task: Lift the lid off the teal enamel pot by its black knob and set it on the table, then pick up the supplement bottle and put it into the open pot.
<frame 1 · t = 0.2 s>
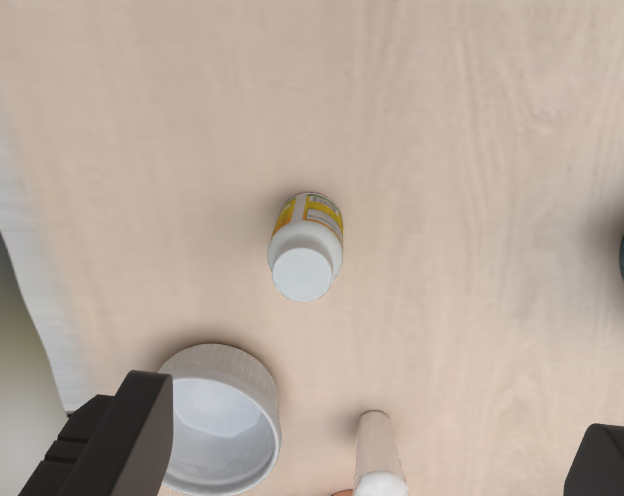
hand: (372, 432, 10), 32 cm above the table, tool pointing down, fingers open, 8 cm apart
supplement bottle: (310, 221, 43), on the table
ramekin: (219, 386, 50), on the table
milkshake: (371, 419, 51), on the table
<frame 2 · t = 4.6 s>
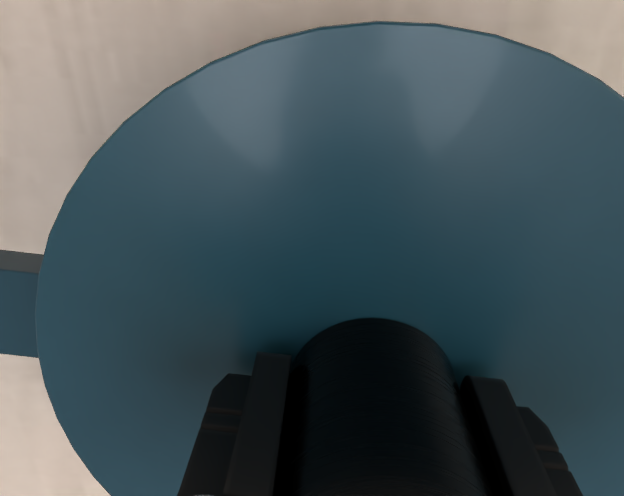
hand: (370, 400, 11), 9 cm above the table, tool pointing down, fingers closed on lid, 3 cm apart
lid: (369, 373, 12), point 8 cm above the table, touching gripper, pot
pot: (357, 231, 20), on the table
when the fingers open (2 cm above the table, at t = 13.4 s): lid stays where it is, point 1 cm above the table.
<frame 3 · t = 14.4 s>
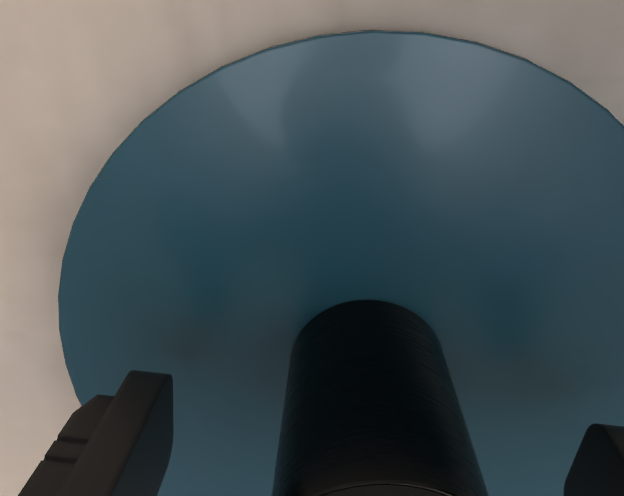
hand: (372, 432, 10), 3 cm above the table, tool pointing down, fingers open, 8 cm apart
lid: (365, 353, 13), point 1 cm above the table
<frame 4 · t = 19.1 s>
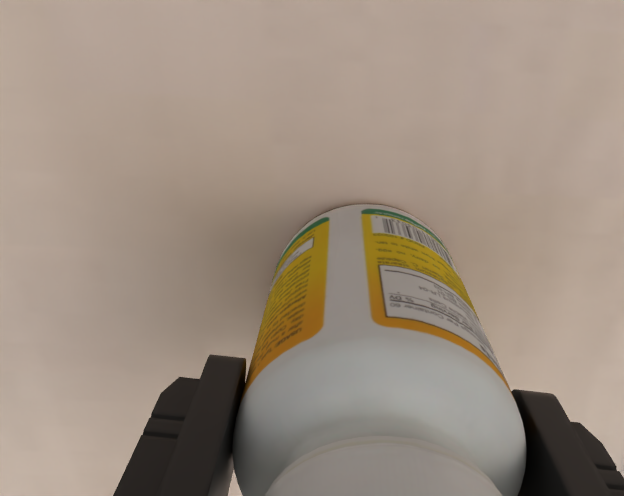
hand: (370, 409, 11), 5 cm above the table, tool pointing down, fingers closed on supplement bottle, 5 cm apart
supplement bottle: (361, 280, 16), on the table, touching gripper
when the fingers open (6 cm above the table, at t = 27.9 s): supplement bottle stays where it is, resting on pot.
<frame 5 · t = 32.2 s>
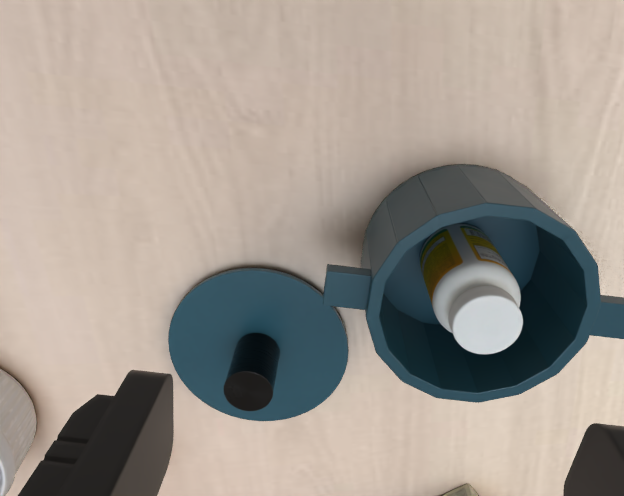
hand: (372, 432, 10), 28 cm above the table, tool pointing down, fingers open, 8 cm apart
lid: (258, 347, 43), point 1 cm above the table
supplement bottle: (454, 254, 39), resting on pot
pot: (453, 252, 39), on the table
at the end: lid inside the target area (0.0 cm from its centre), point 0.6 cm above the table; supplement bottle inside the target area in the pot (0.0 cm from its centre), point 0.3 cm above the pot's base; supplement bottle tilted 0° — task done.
